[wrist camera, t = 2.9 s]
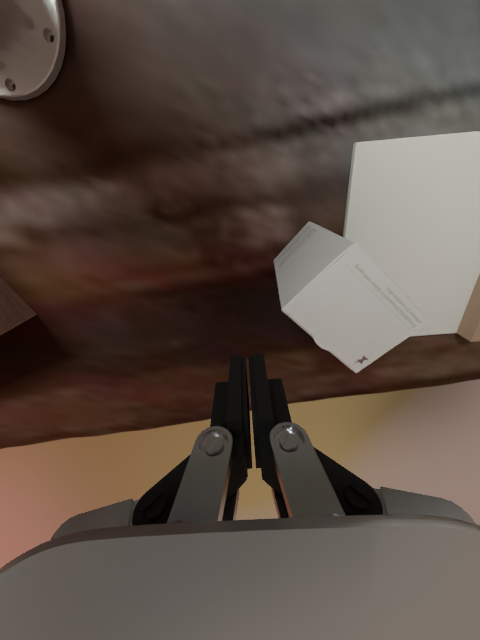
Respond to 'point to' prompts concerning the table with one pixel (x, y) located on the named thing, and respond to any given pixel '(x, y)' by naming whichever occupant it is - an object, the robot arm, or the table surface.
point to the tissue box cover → (12, 308)
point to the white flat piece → (422, 222)
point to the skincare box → (343, 297)
